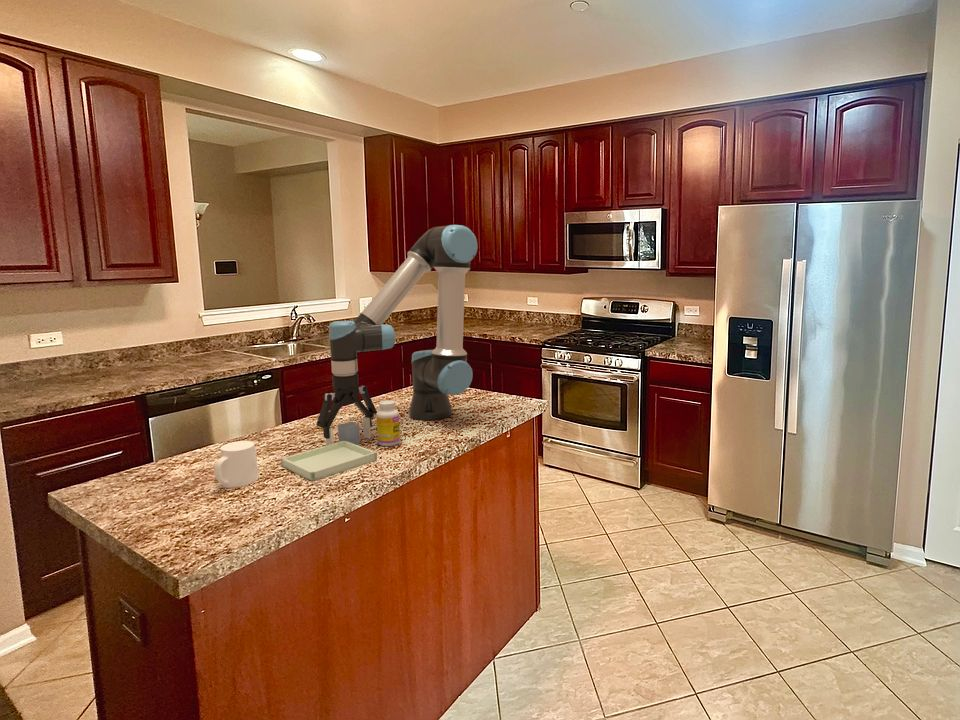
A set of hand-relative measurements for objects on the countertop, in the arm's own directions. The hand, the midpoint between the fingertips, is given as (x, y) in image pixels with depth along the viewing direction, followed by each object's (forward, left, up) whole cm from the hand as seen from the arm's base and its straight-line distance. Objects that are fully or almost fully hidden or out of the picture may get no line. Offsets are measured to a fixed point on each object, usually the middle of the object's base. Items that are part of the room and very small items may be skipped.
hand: (349, 443), depth 174 cm
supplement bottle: (-8, +9, 0) cm, 12 cm away
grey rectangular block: (0, 0, 0) cm, 0 cm away
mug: (+36, +4, 0) cm, 36 cm away
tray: (+13, +10, 0) cm, 16 cm away
